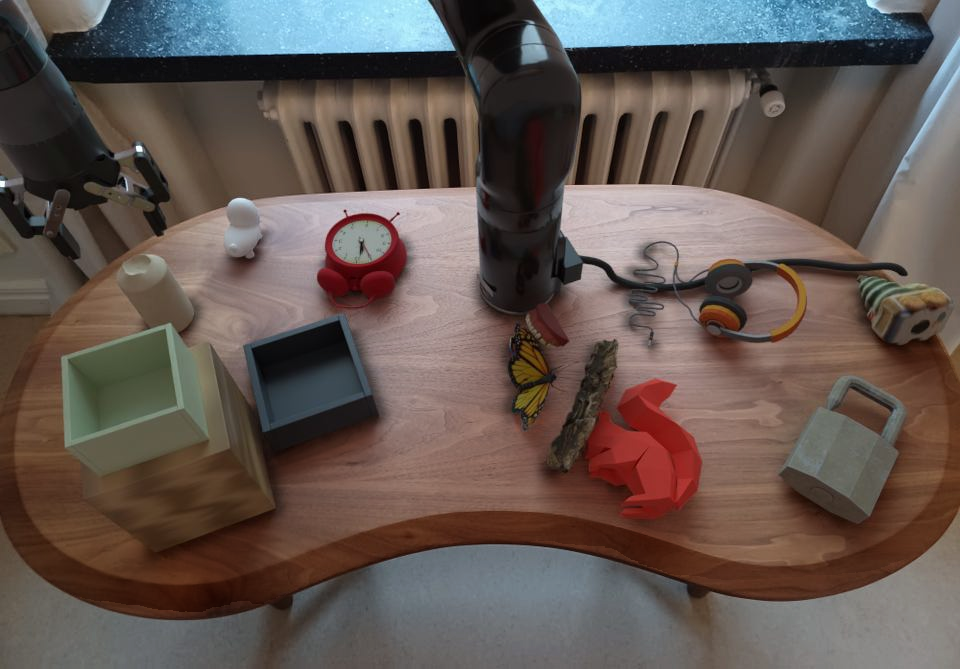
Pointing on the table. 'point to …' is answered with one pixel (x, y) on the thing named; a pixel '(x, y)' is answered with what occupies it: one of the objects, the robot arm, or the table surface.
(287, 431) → the dark bin
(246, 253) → the toy creature
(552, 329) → the dentures model
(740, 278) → the headphones
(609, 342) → the bark log
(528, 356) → the butterfly
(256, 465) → the stand
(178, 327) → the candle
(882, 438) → the padlock
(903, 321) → the ornament
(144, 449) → the pale bin
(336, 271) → the alarm clock
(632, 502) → the animal figurine
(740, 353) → the table surface
